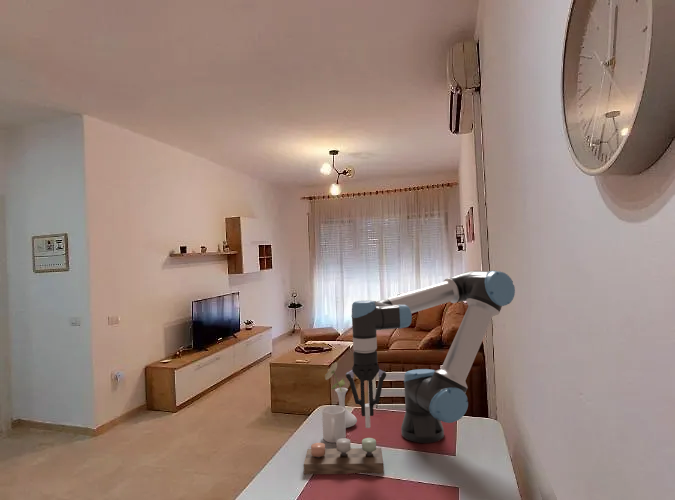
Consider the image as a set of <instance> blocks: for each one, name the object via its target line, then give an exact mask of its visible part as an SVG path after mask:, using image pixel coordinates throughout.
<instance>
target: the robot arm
mask: <svg viewBox="0 0 675 500" xmlns="http://www.w3.org/2000/svg"><path fill="white" fill-rule="evenodd" d="M515 287H516V286H515V285H514V281H513V280H512V278H511V277H510V275H508V274H507V273H506V272H503V271H500V270H499V271H498V270H470V271H466V272H464V273H463V272H462V273H460V274H457V275H454V276H451V277H447V278H445V279H444V280H443V282H440V283H437V284H433V285H430V286H426V287H422V288H419V289H415V290H412V291H409V292H406V293H401V294H399V295H394V296H391V297H388V298H385V299H380V300H378V301H376V300H356V301H353V303H352V304H351V323H352V324H351V327H352V328H351V329H352V350H353V353H352V357H353V358H352V359H353V364H352V367H351V370H349V371H347V372H346V373H345V378H346V379H347V380H348V382H349V385H350V388H351V392H352V396H353V400H354V403H355V405H359V406H360V409H361V411H360V412H361V414H360V415H361V416H362V417H364V418H365V419H364V420H365V429H371V417H374V414H375V413H374V406H375V405H378V404H379V403H380V399H381V395H382V388H383V385H384V384H383V383H384V380H385V379H386V378H387V372H386V371H385V370H382V369H380V366H379V363H378V351H377V349H378V341H377V340H378V338H377V337H378V336H377V331H381V330H382V331H383V330H394V329H396V330H397V329H399V330H400V329H404V328H408V327H409V326H410V325H411V324H412V318H413V315H412V314H414V313H417V312H421V311H424V310H427V309H430V308H434V307H436V306H441V305H443V304H447V303H451V304H457V303H461V302H466V304H467V309H466V311H465V314H464V316H463V318H462V320H461V323H460V325H459V327H458V330H457V332H456V334H455V336H454V338H453V341H452V343H451V345H450V347H449V349H448V351H447V354H446V357H445V358H444V361H443V363H442V365H441V367H440V369H437V370H435V369H429V368H420V369H419V368H418V369H412V370H408V371H406V372H405V373H404V377H403V378H404V379H403V386H404V402H405V403H404V405H405V413H404V416H403V419H402V423H401V428H400V429H401V431H400V432H401V433H400V434H401V436H402V437H403V438H404V439H406V440H408V441H410V442H414V443H419V444H432V443H437V442H439V441H441V440H442V439H443V438H444V437H445V431H444V430H445V429H444V426H443V423H446V424H451V423H452V424H453V423H455V422H458V421H460V419H462V418H463V417H464V415H465V414H466V413H467V410H468V407H469V401H468V396H467V394H466V393H467V390H468V388H469V387H468V384H467V382H466V380H467V377H468V375H469V373H470V371H471V369H472V366H473V363H474V362H475V359H476V356H477V354H478V352H479V350H480V347H481V345H482V343H483V340H484V338H485V335H486V333H487V330H488V328H489V326H490V325H491V321H492V319H493V317H495V316H497V315H499V314H500V312H501V310H502V308H503V307H505V306H508V305H510V304H511V303H512V301H513V300H514V298H515V295H516V294H515V293H516V288H515ZM355 376H356V378H357V379H358V380H359V384H360V398H359V395H358V394H359V393H358V390H357V388H356V384H355V380H354V378H355ZM376 376H378V380H377V381H378V382H377V387H376V391H375V396H374V390H373V380H374V379H375V377H376ZM365 381H367V382H368V383H367V384H368V401H369V402H368V403H366V398H365V396H366V395H365V394H366V393H365ZM442 422H443V423H442Z"/></svg>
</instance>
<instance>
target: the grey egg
mask: <svg viewBox="0 0 675 500" xmlns="http://www.w3.org/2000/svg"><path fill="white" fill-rule="evenodd" d="M335 444H336V449H337V451H339V452H341V455H342V456H346V452H348V451H350V450H351V448H352V447H351V440H350V438H346V437H345V438H341V439H338V440H337V441H336V443H335Z"/></svg>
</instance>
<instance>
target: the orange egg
mask: <svg viewBox="0 0 675 500" xmlns="http://www.w3.org/2000/svg"><path fill="white" fill-rule="evenodd" d="M310 445H311V446H310V449H311V455H312V456H314V457H316V458H321V456H324V455H325V449H326V444H325V443H324V442H315V443H312V444H310Z"/></svg>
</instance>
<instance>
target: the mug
mask: <svg viewBox="0 0 675 500" xmlns="http://www.w3.org/2000/svg"><path fill="white" fill-rule="evenodd" d="M345 408H346V407H345ZM345 408H344V407H341V406H339V405H329V406H325V407H323V408H322V411H321V413H322V414H321V415H322V417H321V418H322V419H321V420H322V438H323V440H324V441H325V442H326V443H332V444H336V441H337V440H338V439H341V438H346V437H347V436H346V435H347V433H346V432H347V431H346V429H347V428H346V425H345Z"/></svg>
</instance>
